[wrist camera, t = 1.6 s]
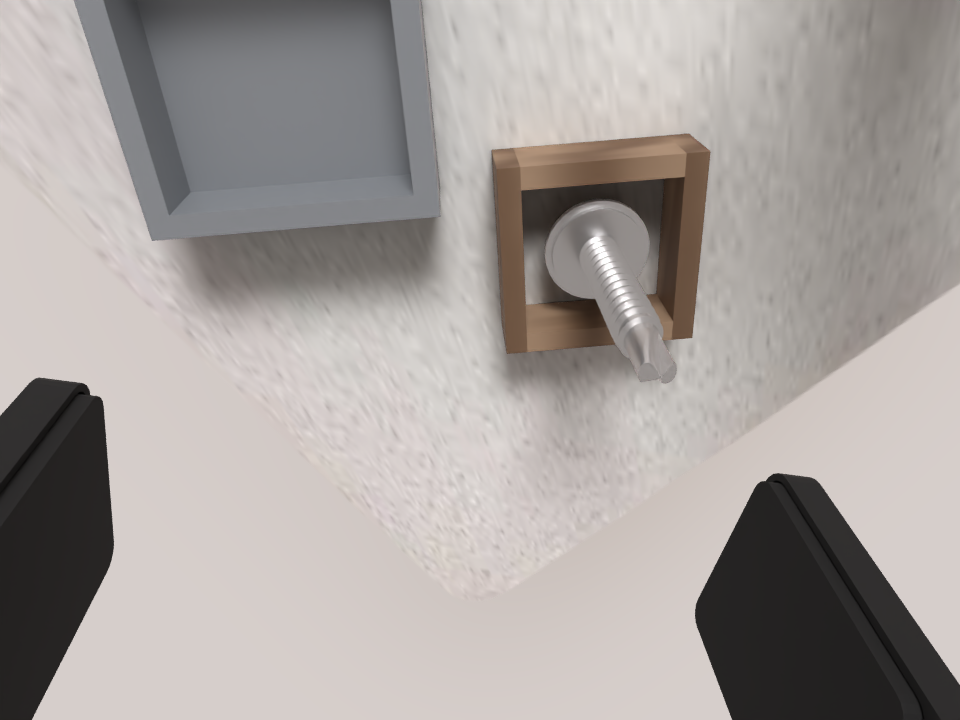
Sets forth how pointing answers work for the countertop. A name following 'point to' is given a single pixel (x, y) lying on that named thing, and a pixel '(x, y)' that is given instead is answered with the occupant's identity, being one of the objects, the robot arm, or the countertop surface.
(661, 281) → the frame
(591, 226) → the screw
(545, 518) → the countertop surface
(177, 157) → the bin
